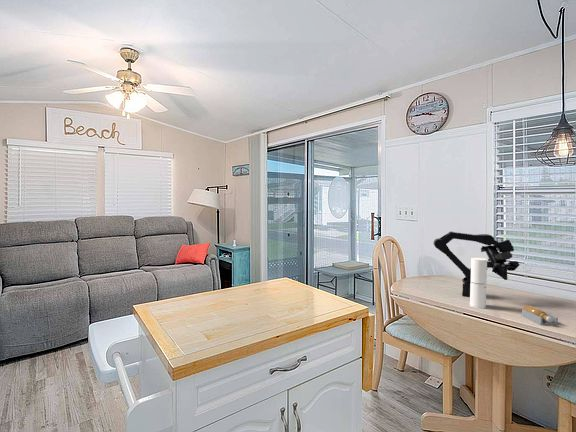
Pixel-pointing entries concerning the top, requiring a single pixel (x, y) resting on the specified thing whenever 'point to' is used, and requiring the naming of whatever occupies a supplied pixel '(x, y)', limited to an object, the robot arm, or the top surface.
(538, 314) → the amber bottle
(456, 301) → the top surface
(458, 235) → the robot arm
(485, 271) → the cylindrical container
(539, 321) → the grey cradle
